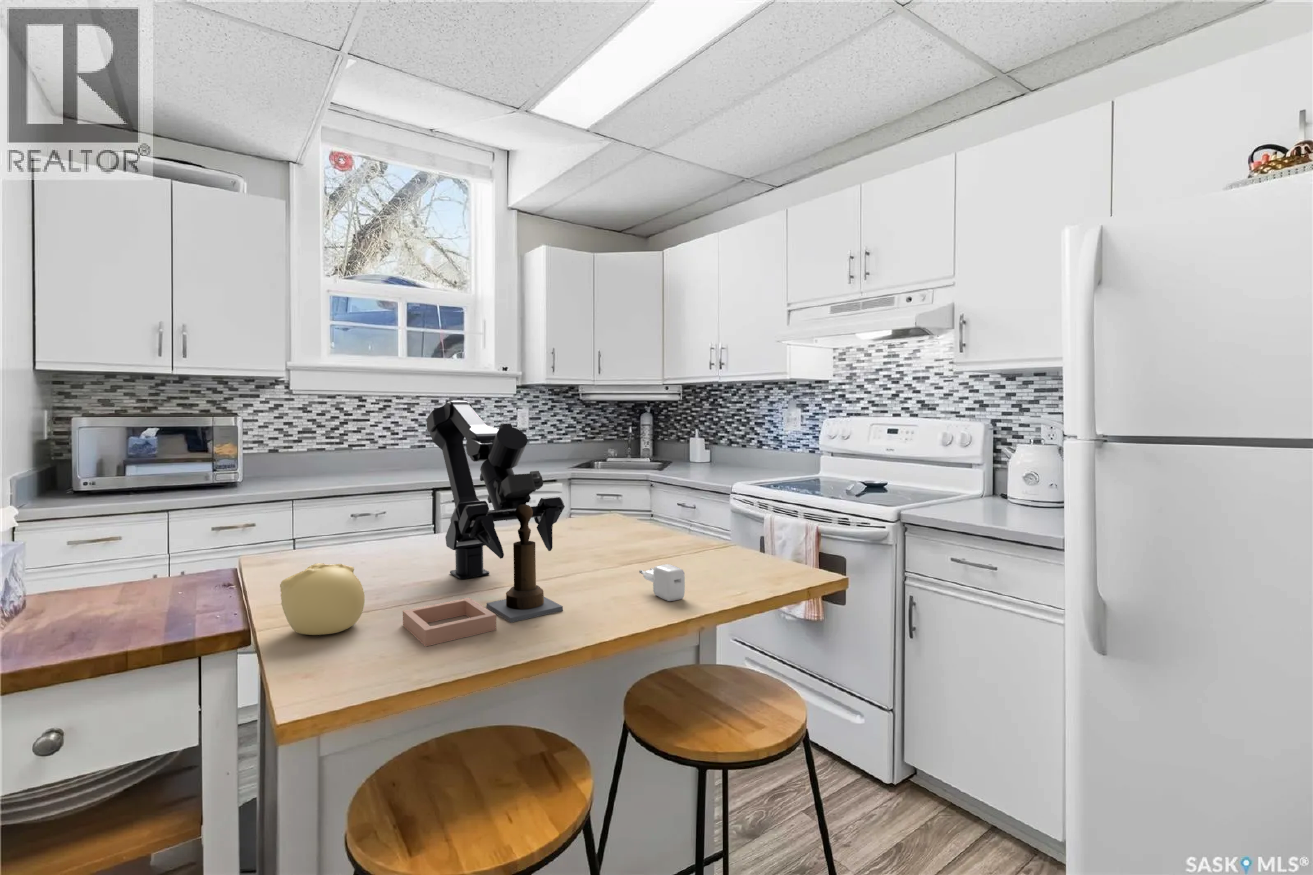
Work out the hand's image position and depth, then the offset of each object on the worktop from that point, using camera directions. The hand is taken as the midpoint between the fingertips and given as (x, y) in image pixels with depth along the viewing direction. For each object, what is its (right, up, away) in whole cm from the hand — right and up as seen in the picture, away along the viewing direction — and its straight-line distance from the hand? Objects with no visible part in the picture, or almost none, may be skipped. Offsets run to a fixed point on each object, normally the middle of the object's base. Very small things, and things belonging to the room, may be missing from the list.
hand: (527, 553), depth 112 cm
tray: (-11, -11, -8) cm, 17 cm away
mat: (-1, -10, +2) cm, 10 cm away
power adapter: (+24, -10, +11) cm, 28 cm away
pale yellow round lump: (-31, -11, -8) cm, 34 cm away
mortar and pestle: (-1, -10, +2) cm, 10 cm away
